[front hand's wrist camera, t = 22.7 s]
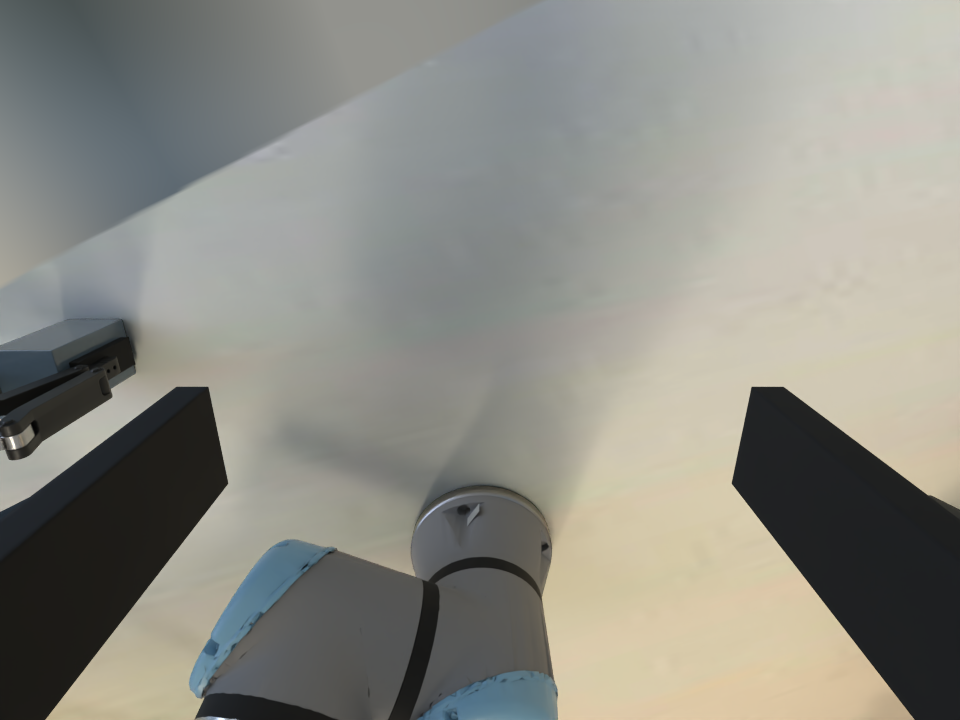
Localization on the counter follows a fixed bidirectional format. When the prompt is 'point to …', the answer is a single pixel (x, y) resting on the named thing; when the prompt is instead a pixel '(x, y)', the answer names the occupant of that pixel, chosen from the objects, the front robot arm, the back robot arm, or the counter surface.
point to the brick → (56, 350)
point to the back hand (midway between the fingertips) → (96, 350)
